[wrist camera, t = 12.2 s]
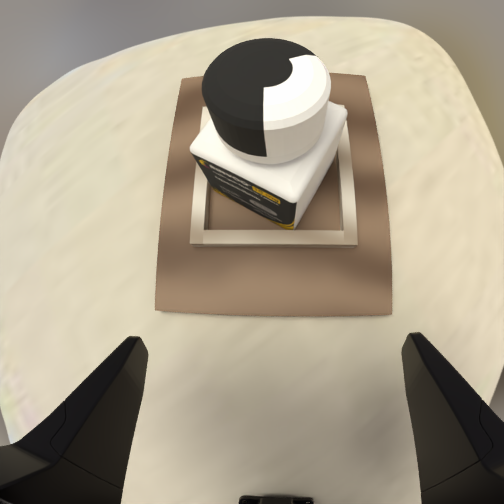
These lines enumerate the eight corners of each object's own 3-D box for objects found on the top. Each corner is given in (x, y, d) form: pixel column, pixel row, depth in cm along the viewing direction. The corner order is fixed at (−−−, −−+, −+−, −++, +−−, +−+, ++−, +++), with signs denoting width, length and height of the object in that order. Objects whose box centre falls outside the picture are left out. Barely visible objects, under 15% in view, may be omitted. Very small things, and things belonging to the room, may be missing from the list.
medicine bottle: (212, 191, 24) (155, 99, 12) (257, 123, 24) (239, 12, 13) (292, 234, 22) (301, 160, 11) (334, 159, 23) (366, 53, 11)
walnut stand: (386, 313, 22) (397, 314, 20) (160, 310, 24) (148, 310, 21) (362, 83, 26) (367, 68, 23) (185, 86, 27) (178, 71, 25)
